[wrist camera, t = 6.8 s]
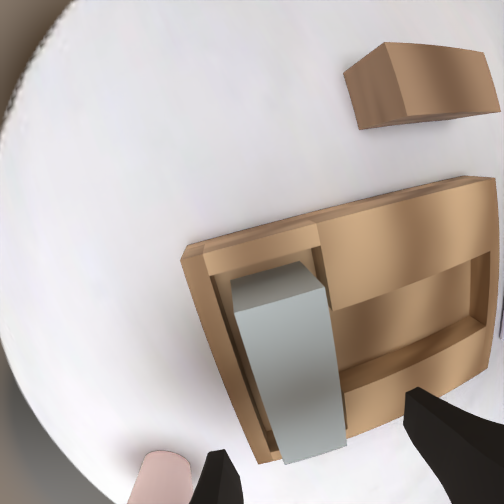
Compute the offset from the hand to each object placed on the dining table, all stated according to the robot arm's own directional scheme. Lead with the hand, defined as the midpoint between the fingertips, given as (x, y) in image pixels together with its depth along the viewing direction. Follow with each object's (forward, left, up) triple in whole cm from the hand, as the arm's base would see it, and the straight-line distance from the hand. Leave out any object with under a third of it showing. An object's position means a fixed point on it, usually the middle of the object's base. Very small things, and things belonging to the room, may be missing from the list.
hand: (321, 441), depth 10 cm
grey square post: (0, 0, -7) cm, 7 cm away
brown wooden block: (-10, -13, -8) cm, 18 cm away
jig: (-5, 0, -8) cm, 10 cm away
